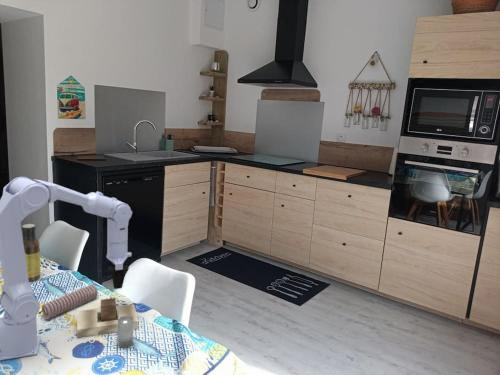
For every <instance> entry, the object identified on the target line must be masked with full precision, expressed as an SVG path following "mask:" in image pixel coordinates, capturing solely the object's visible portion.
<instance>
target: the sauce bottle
mask: <svg viewBox="0 0 500 375" xmlns="http://www.w3.org/2000/svg"><path fill="white" fill-rule="evenodd" d="M21 230H22V237H23V244H24V252H25V259H26V266H27V273H28V280H29V282H33V281H37V280H39V279H40V277H41V250H40V242H39V240H38V239H37V238H36V224H33V223H27V224H26V223H25V224H23V225H21Z"/></svg>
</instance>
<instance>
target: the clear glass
mask: <svg viewBox="0 0 500 375" xmlns="http://www.w3.org/2000/svg"><path fill="white" fill-rule="evenodd" d="M116 337H117V340H116V342H117V347H119V348H121V349H126V348H130V347H131V346H133V344H134V330H133V318H132V317H130V316H123V317H120V318H119V319H118V332H117V336H116Z"/></svg>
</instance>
